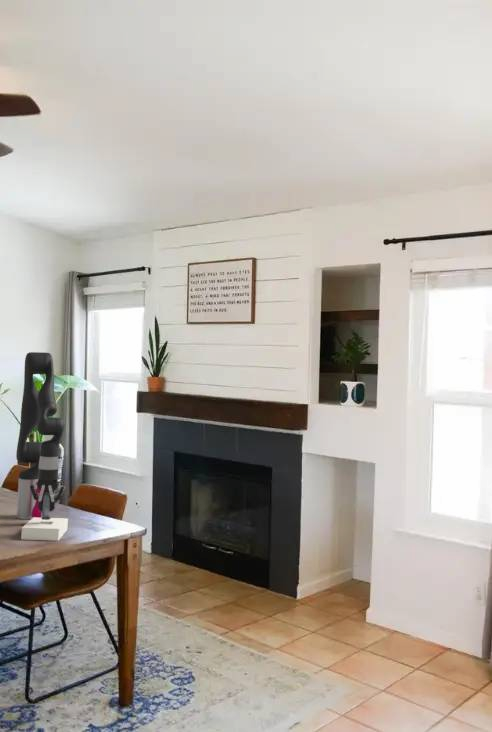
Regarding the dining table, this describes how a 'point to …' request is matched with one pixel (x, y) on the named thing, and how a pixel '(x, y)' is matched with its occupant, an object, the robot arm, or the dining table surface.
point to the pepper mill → (36, 506)
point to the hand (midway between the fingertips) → (46, 510)
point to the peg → (46, 506)
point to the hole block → (44, 529)
